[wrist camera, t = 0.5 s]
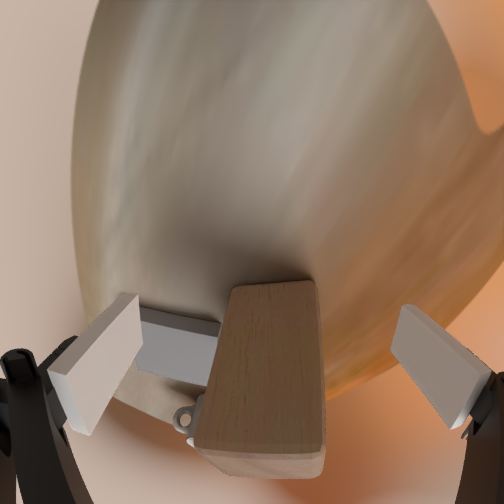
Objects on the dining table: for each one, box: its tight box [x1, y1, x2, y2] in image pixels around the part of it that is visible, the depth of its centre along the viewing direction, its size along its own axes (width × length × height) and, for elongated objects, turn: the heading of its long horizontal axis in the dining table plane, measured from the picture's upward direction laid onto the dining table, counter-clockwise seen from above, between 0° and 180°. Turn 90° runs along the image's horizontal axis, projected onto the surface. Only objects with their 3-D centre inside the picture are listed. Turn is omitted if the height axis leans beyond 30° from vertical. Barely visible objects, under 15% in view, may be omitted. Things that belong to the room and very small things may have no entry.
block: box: [193, 280, 326, 479], centre depth 27 cm, size 10×10×20 cm
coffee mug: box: [173, 393, 205, 447], centre depth 47 cm, size 13×10×10 cm
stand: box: [134, 306, 221, 387], centre depth 40 cm, size 14×14×2 cm
